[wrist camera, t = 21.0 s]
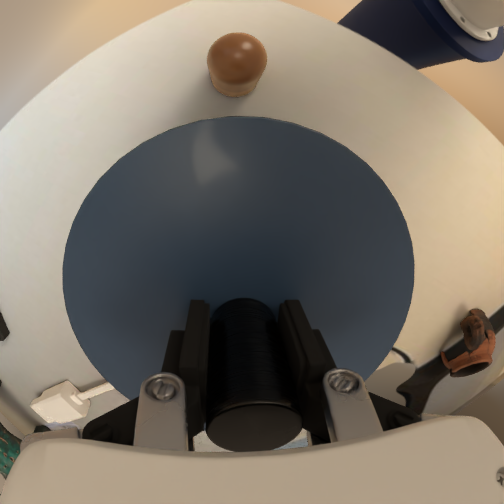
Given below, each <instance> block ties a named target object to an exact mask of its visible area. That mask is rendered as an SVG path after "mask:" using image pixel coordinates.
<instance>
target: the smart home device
mask: <svg viewBox="0 0 504 504" xmlns="http://www.w3.org/2000/svg"><path fill="white" fill-rule="evenodd" d="M8 335H9V331H8V328H7V326H6V324H5V322H4V320H3V317H2V315H1V313H0V341H3V340H5V338H6V337H7V336H8Z"/></svg>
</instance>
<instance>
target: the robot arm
mask: <svg viewBox="0 0 504 504" xmlns="http://www.w3.org/2000/svg"><path fill="white" fill-rule="evenodd" d="M438 1H439V2H440V4H441V5H442V7H443V8H444V9H445V11H446V12H447V13H448V15H449V16H450V17H451V18H452V19H453V20H454V21H455V23H456V24H457V25H458V26H459V27H461V28H462V29H463V30H464V31H465V32H466V33H468V34H469V35H470V36H472V37H474V38H476V39H477V40H481V41H489V40H493V39H494V38H495V37H496V35H497V33H498V27H500V26H504V0H438ZM277 326H278V329H279V333H280V336H281V340H282V344H283V347H284V351H285V354H286V358H287V361H288V365H289V369H290V372H291V376H292V379H293V383H294V387H295V390H296V394H297V397H298V401H299V405H300V408H301V412H302V415H303V420H304V422H303V427H302V428H303V429H305V430H307V440H308V446H307V447H299V448H291V449H280V450H268V451H251V452H195V447H194V436H196V435H197V434H199V433H200V432H201V431H204V423H206V398H207V381H208V359H209V339H210V304H209V303H205V302H204V300H195V299H191V301H190V306H189V311H188V317H187V322H186V328H185V330H171V332H170V336H169V340H168V344H167V348H166V352H165V357H164V361H163V365H162V370H161V372H160V373H155V374H152V375H150V376H148V377H147V378H146V379H145V380H144V381H143V382H142V385H141V389H140V396H138V397H136V398H135V399H133V400H131V401H129V402H127V403H125V404H123V405H121V406H119V407H117V408H115V409H114V410H112V411H110V412H108V413H106V414H104V415H102V416H100V417H98V418H96V419H94V420H92V421H90V422H89V423H87V425H86V426H85V427H84V429H80V430H78V428H77V427H74V428H68V429H61V430H54V431H47V432H38V433H32V434H28V435H27V436H26V437H24V438H23V440H22V442H21V445H20V454H19V456H18V457H17V459H16V461H15V462H14V464H13V466H12V468H11V470H10V472H9V474H8V476H7V479H6V482H5V484H4V487H3V490H2V492H1V495H0V504H504V446H503V445H502V443H501V442H500V441H499V439H498V438H497V437H496V435H495V434H494V433H493V432H492V431H491V429H490V428H488V426H487V425H486V424H485V423H483V422H482V421H481V420H479V419H477V418H475V417H470V416H446V415H434V414H424V413H421V415H420V416H418V415H417V414H416V413H415V412H414V411H413V410H411V409H409V408H407V407H405V406H402V405H399V404H397V403H395V402H392V401H390V400H387V399H385V398H382V397H380V396H377V395H375V394H373V393H370V392H368V391H367V389H366V386H365V384H364V381H363V379H362V378H361V376H360V375H359V374H358V373H357V372H355V371H353V370H351V369H347V368H337V366H336V364H335V362H334V360H333V358H332V356H331V353H330V351H329V349H328V347H327V345H326V343H325V341H324V338H323V336H322V334H321V332H320V330H319V329H312V328H311V326H310V324H309V321H308V319H307V317H306V315H305V312H304V310H303V308H302V306H301V303H300V301H299V300H285V301H284V303H280V306H279V314H278V323H277Z"/></svg>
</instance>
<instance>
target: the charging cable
mask: <svg viewBox="0 0 504 504" xmlns="http://www.w3.org/2000/svg"><path fill="white" fill-rule="evenodd" d="M111 389H114V387H113V386H112V385H111V384H110V383H109V382H107V383H104V384H102V385H99V386H97V387H95V388H92V389H90V390H87V391H85V392H82V393H81V392H80V391H79V390H78V389H77V388H76V387H75V386H73V385H72V384H71V383H70V382H69V381H65V382H62V383H60V384H58V385H56V386H54V387H51V388H49V389H47V390H45V391H43V393H42V395H41V396H40V397H38V398H35V399H33V401H32V402H31V404H30V407H31V408H32V409H33V410H34V411H35V412H36V413H37V414H39V415H40V416H41V417H42V418H43V419H44V420H45V421H47V422H48V423H51V422H54V421H57V422H58V423H59V424H61V423H65V422H69V421H72V420H76V419H79V418H83V417H86V415H87V412H88V410H89V407H90V401H89V400H88V398H90V397H93V396H96V395H98V394H101V393H104V392H106V391H109V390H111Z"/></svg>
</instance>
